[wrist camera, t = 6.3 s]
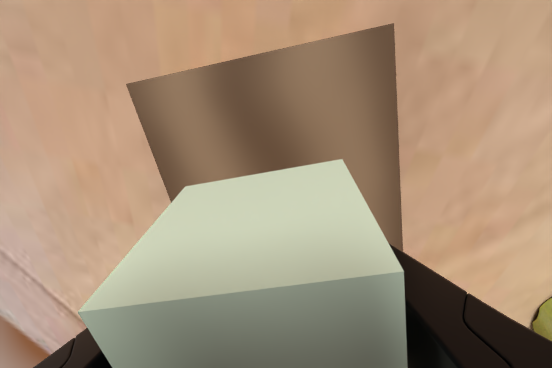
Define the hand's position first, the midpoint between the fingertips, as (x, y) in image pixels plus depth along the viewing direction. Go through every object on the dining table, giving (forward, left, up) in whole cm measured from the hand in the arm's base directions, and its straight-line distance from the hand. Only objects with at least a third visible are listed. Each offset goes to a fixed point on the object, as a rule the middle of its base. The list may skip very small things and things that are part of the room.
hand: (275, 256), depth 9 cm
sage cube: (0, 0, -1) cm, 1 cm away
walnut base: (0, 0, -10) cm, 10 cm away
